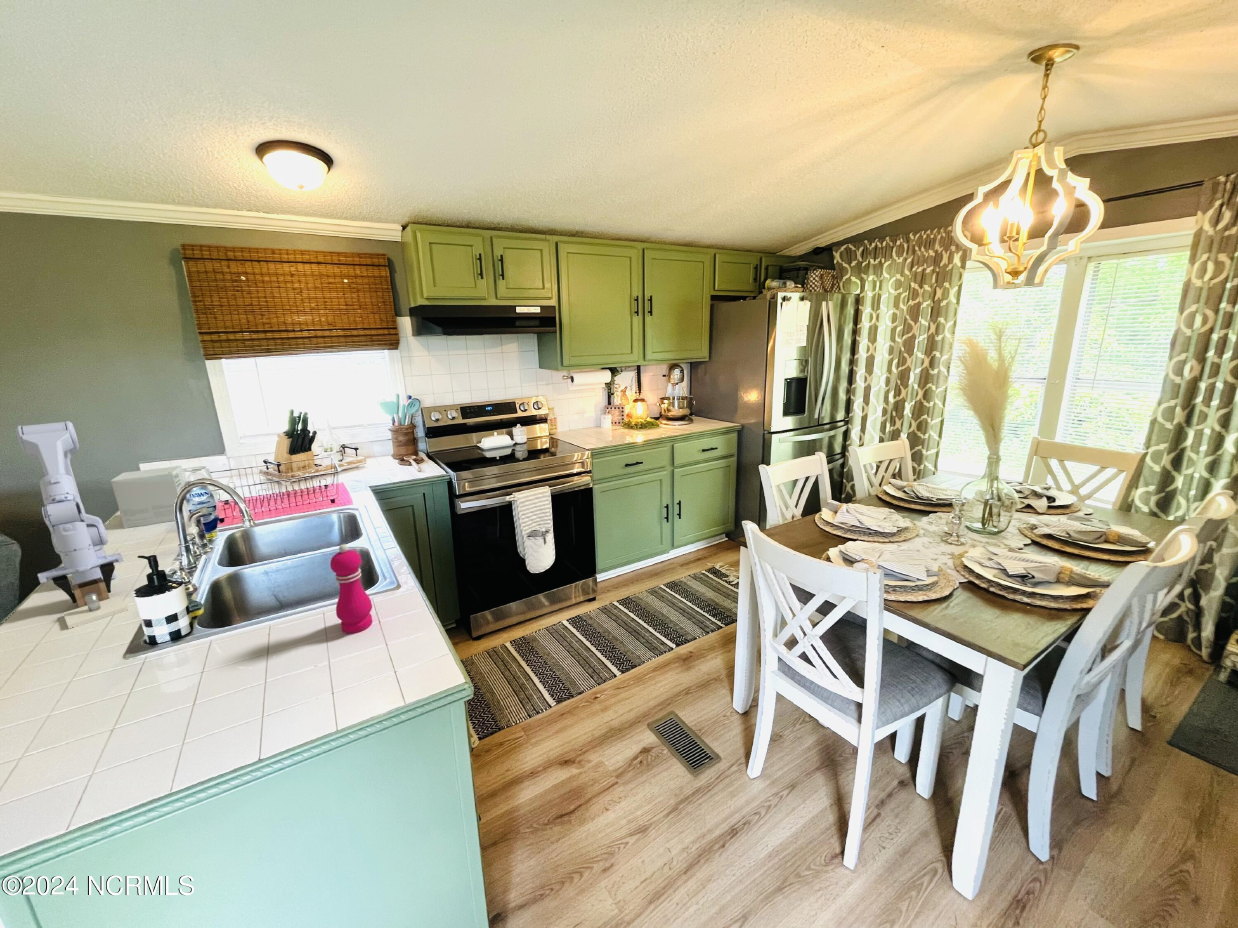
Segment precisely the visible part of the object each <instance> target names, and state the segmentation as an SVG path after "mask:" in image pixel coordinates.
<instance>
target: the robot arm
mask: <svg viewBox="0 0 1238 928" xmlns="http://www.w3.org/2000/svg"><path fill="white" fill-rule="evenodd" d="M15 434H16V437H17V440H18V443H19V446H20V448H22V449H23V451H24V453H25V454H26V455H28V457H29V458H33V459H38V460H39V462H40V465H41V467H42V470H43V473H44V476H45V477H43V478H42V479H40V481H39V488H40V491H41V496H42V500H43V504H44V506H41V507H42V508H41V511H42V512H41V513H42V517H43V520H44V522H45V524H46V526H47V527H48V529H49V531H50V535H51V536H50V537H51V538H50V539H51V541H52V542H51V543H52V545H53V546H52V547H53V549H54V551H55V553H56V554H58V555H59V556H60V558H61V559H60V560H61V562H62V566H59V567H55V568H52V569H50V570H45V571H43V572H40V573H37V577H38V581H39V583H40V584H44V583H46V582H48V581H51V580H52V582H53V584H54V585H55V586H56V587H57V588H59V589H60V590H62V591H63V592H64V593H65V594H66V595H67V596H68V597H69V599H70V600H71V601H72V604H73V605H74V604H77V600H76V597H75V595H74V593H73V590H72V587H71V585H74V584H78V583H81V582H85V581H88V580H92V579H96V578H99V577H101V578H102V579H103V581H104V583H105V585H106V588H107V592H108V594H111V593H112V588H111V583H112V580H113V579H116V578H117V575H116V574H115V573H114V572H115V568H116V565H115V564H116V563H121V562H124V557H123V554H122V552H118V553H114V554H109V555H107V554H106V552H105V547H104V546H106V545H107V544H108V543H109V538H108V534H107V531H106V528H105V525H104V523H103V520H102V519H101V518H100V517H98V516H95V515H92V514H88V513H86V511H85V507H84V505H83V503H82V499H81V496H80V492H79V489H78V485H77V483H76V478H75V475H74V473H73V472H74V471H73V469H72V466H71V458H72V455H73V454H76V453H78V452H79V451H80V449H79V448H80V445H79V441H78V440H79V439H78V436H77V433H76V429H75V427H74V424H73V422H71V421H69V420H66V421H60V422H50V423H48V422H47V423H40V424H31V425H30V424H29V425H17V427H16V428H15ZM71 575H72V577H71V578H70V580H69V577H68V576H71ZM70 581H71V582H70Z"/></svg>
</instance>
